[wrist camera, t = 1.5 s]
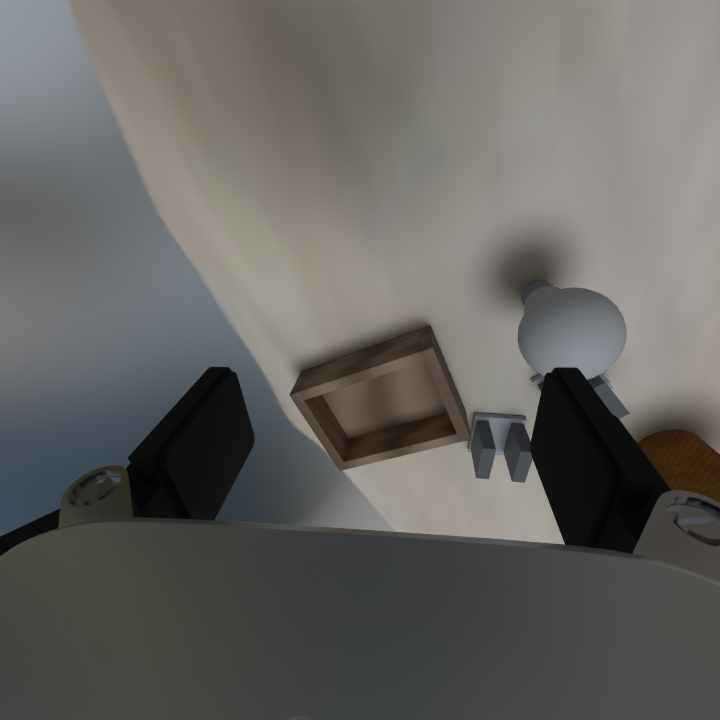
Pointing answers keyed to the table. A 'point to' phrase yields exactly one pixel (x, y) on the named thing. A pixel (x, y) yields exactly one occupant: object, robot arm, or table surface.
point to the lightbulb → (570, 329)
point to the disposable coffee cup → (684, 462)
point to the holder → (383, 401)
